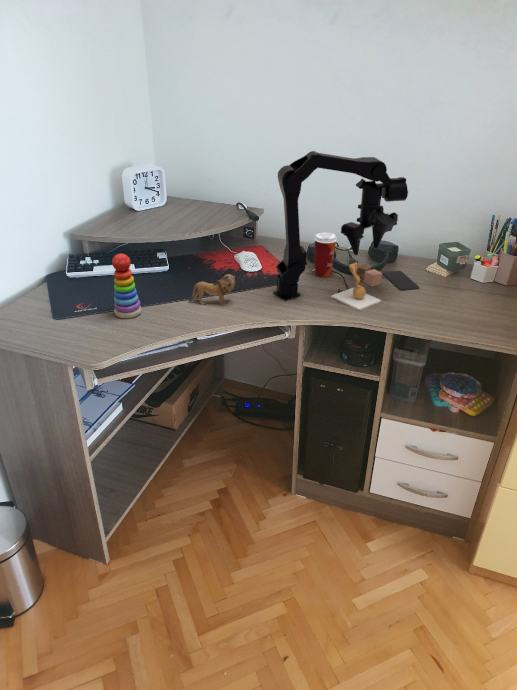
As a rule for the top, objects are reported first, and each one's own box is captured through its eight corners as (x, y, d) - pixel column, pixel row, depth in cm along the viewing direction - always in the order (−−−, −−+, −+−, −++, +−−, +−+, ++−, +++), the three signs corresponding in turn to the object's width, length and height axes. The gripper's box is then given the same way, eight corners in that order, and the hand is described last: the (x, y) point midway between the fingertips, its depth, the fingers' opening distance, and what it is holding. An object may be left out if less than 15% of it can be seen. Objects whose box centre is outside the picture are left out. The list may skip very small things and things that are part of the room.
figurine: (366, 303, 169) (371, 267, 162) (347, 303, 169) (351, 267, 163) (362, 292, 176) (366, 257, 170) (344, 292, 176) (347, 256, 170)
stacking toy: (112, 309, 165) (104, 250, 155) (138, 305, 167) (132, 247, 158) (117, 321, 158) (109, 260, 149) (144, 316, 161) (138, 256, 152)
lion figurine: (235, 297, 173) (234, 271, 168) (236, 305, 168) (235, 278, 164) (188, 299, 172) (186, 272, 167) (188, 307, 167) (186, 279, 162)
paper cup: (335, 279, 186) (338, 239, 179) (312, 278, 186) (315, 239, 179) (332, 270, 193) (336, 231, 186) (311, 269, 193) (313, 231, 186)
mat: (331, 297, 174) (331, 295, 173) (352, 289, 179) (353, 287, 179) (359, 310, 166) (359, 309, 165) (381, 302, 171) (381, 300, 171)
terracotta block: (363, 282, 184) (365, 271, 182) (372, 280, 186) (374, 269, 184) (371, 286, 181) (373, 275, 179) (380, 284, 183) (382, 273, 181)
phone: (400, 289, 178) (381, 271, 191) (399, 292, 179) (380, 274, 191) (420, 288, 180) (400, 270, 192) (420, 290, 180) (400, 272, 193)
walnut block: (354, 277, 188) (355, 266, 186) (359, 274, 190) (361, 263, 188) (364, 280, 186) (365, 269, 184) (370, 277, 188) (371, 266, 186)
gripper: (370, 214, 154) (365, 266, 162) (412, 202, 164) (405, 251, 172) (341, 205, 161) (337, 255, 169) (383, 194, 171) (378, 242, 179)
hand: (365, 251), depth 172 cm, fingers open, 9 cm apart
